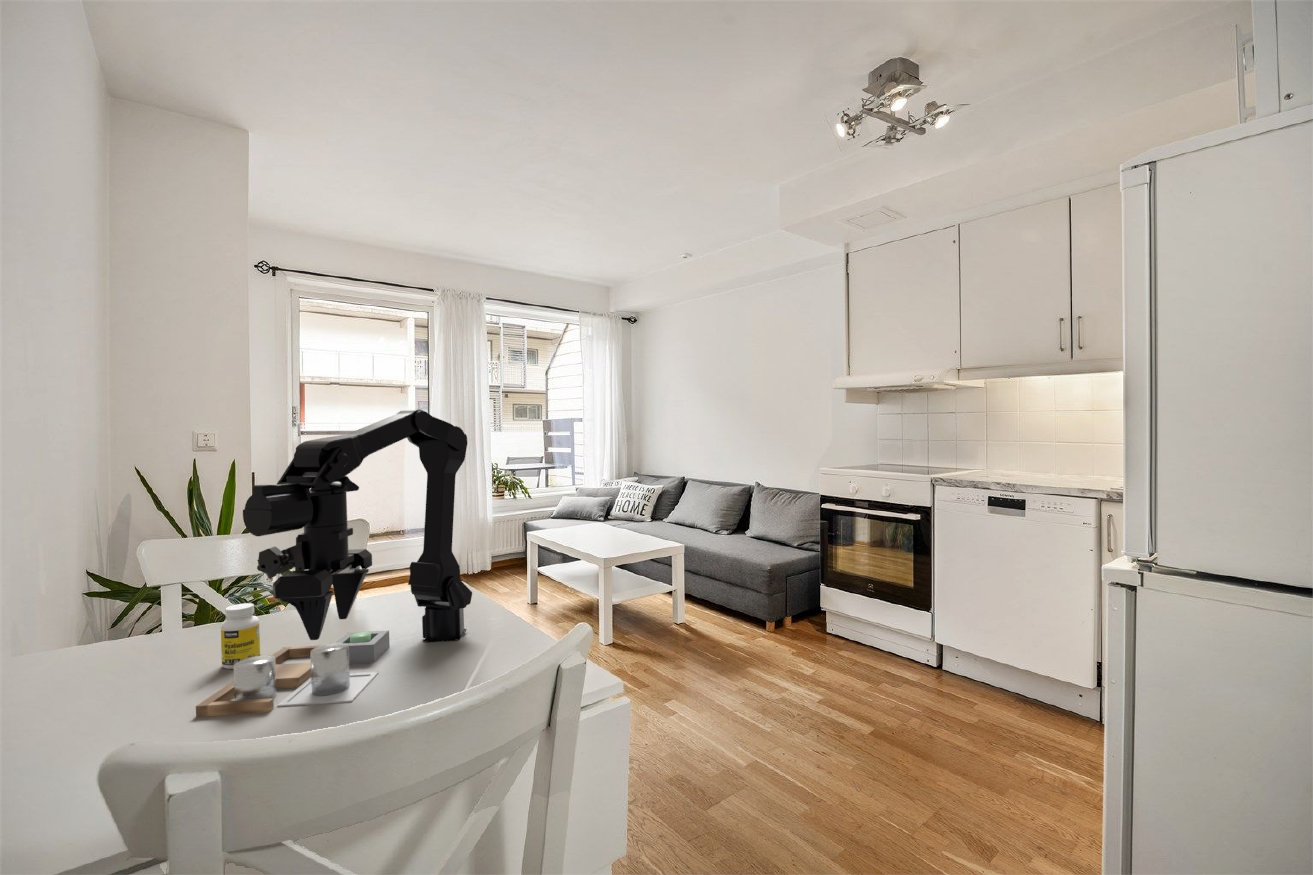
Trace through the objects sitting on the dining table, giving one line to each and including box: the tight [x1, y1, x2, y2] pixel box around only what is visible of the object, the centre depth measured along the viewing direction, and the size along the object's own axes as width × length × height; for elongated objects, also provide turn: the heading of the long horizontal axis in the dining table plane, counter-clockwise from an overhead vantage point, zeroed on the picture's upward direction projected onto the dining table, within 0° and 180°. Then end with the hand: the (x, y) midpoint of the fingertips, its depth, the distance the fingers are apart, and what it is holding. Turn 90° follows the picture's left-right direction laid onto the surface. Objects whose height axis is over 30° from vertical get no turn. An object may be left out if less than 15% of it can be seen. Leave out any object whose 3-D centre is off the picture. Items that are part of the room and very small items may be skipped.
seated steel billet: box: [233, 654, 277, 701], centre depth 86 cm, size 5×5×6 cm
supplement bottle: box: [220, 602, 261, 670], centre depth 101 cm, size 5×5×10 cm
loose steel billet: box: [309, 642, 351, 696], centre depth 88 cm, size 5×5×6 cm
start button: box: [350, 631, 371, 643], centre depth 102 cm, size 3×3×3 cm
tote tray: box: [276, 671, 379, 708], centre depth 88 cm, size 10×10×1 cm
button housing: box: [334, 630, 390, 665], centre depth 102 cm, size 7×7×4 cm
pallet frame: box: [195, 644, 323, 718], centre depth 92 cm, size 10×22×2 cm, turn 5°
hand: (329, 628), depth 88 cm, fingers open, 9 cm apart
